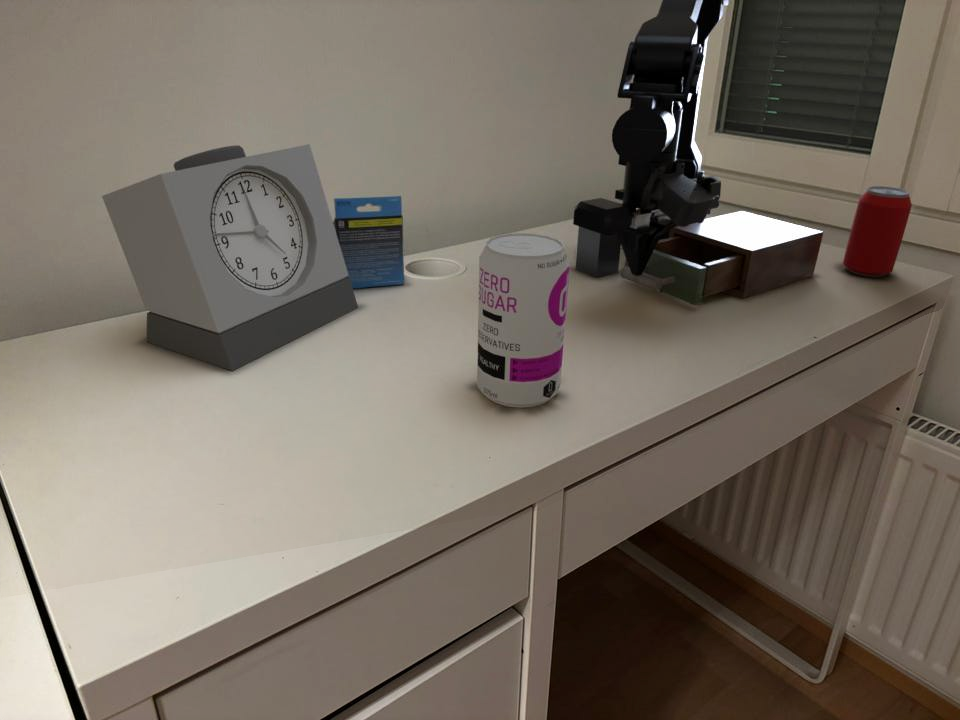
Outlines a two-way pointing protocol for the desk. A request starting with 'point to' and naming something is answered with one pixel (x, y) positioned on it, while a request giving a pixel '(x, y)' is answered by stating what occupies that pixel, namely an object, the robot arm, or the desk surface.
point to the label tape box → (371, 240)
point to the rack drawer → (689, 269)
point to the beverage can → (877, 231)
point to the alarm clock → (233, 253)
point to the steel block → (597, 253)
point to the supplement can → (521, 318)
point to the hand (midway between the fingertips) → (636, 274)
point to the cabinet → (760, 248)
